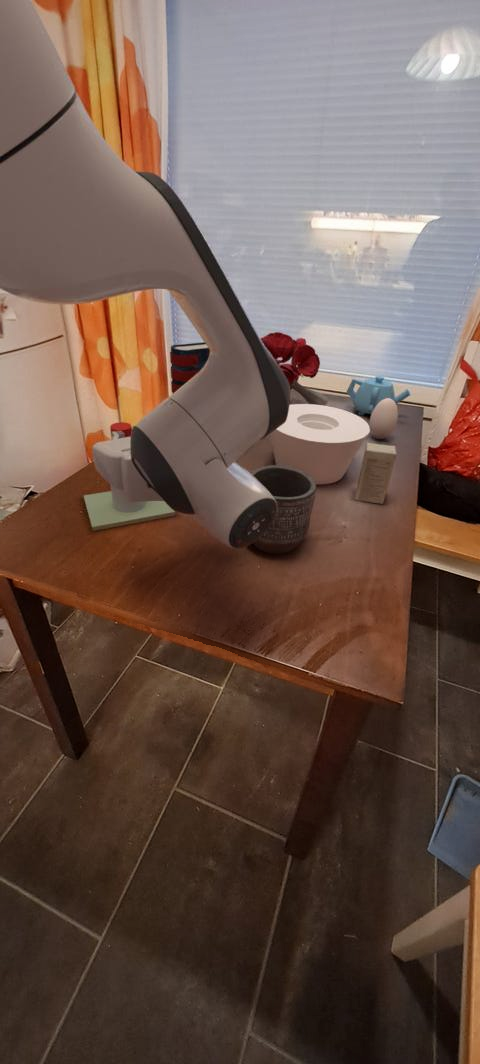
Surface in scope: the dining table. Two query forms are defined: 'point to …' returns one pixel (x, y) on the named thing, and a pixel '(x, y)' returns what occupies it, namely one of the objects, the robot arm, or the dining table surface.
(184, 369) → the book
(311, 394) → the bouquet
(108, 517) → the mat
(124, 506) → the bottle
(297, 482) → the planter
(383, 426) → the egg
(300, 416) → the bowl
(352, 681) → the dining table surface
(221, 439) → the robot arm
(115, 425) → the cap
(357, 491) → the cosmetic box
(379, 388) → the teapot
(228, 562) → the dining table surface
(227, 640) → the dining table surface
